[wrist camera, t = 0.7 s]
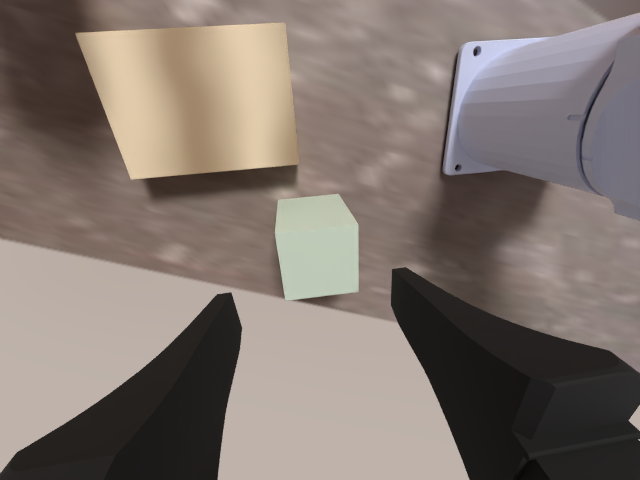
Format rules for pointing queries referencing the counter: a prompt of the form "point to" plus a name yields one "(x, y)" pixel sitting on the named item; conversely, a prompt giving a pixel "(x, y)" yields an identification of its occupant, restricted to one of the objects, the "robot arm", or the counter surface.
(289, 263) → the sage block
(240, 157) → the oak slab
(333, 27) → the counter surface
